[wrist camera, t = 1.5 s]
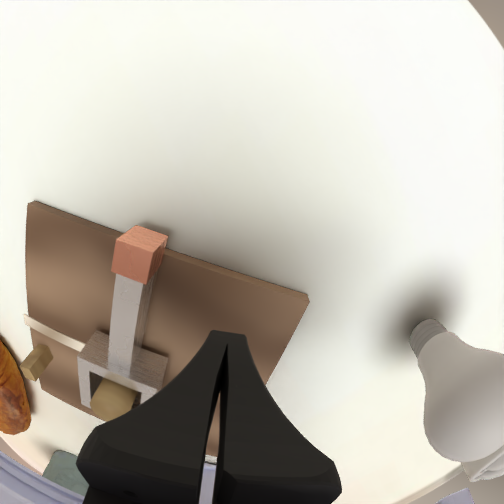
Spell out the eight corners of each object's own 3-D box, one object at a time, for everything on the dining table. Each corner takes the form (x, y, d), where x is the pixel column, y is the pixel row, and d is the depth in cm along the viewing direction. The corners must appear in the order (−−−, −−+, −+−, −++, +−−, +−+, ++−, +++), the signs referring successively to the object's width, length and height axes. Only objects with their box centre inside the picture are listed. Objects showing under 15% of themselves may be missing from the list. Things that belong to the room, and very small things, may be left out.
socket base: (221, 450, 22) (216, 496, 18) (41, 381, 21) (16, 416, 16) (310, 287, 16) (330, 343, 11) (30, 191, 14) (-26, 211, 10)
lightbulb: (371, 317, 17) (447, 463, 7) (448, 272, 16) (557, 376, 6) (391, 374, 19) (444, 493, 9) (457, 335, 18) (531, 433, 7)
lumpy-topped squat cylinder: (506, 420, 24) (528, 457, 16) (440, 455, 25) (460, 501, 17) (532, 373, 21) (563, 412, 13) (464, 413, 22) (494, 467, 14)
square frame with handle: (157, 403, 18) (148, 431, 16) (95, 378, 18) (81, 404, 15) (198, 246, 14) (186, 268, 12) (109, 215, 14) (81, 231, 11)
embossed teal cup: (99, 461, 26) (73, 533, 14) (121, 490, 29) (104, 550, 18) (40, 439, 26) (9, 498, 14) (67, 471, 29) (45, 524, 18)
